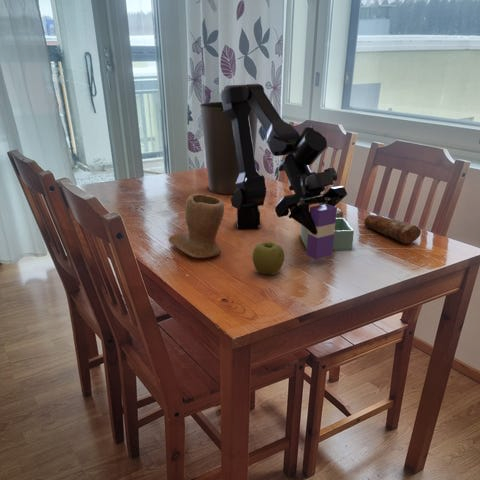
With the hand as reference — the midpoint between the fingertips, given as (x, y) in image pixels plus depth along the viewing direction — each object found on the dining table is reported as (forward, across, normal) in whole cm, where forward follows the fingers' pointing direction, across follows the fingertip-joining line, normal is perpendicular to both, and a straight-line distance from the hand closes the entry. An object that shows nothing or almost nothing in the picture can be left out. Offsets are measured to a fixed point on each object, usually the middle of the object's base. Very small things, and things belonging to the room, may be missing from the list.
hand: (325, 231), depth 114 cm
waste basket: (-47, +18, +60) cm, 79 cm away
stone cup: (-11, -22, +24) cm, 34 cm away
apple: (+4, -14, +9) cm, 17 cm away
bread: (+2, +30, +11) cm, 32 cm away
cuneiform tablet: (-9, +24, +22) cm, 34 cm away
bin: (-2, +11, +14) cm, 18 cm away
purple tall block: (+4, 0, +6) cm, 7 cm away
